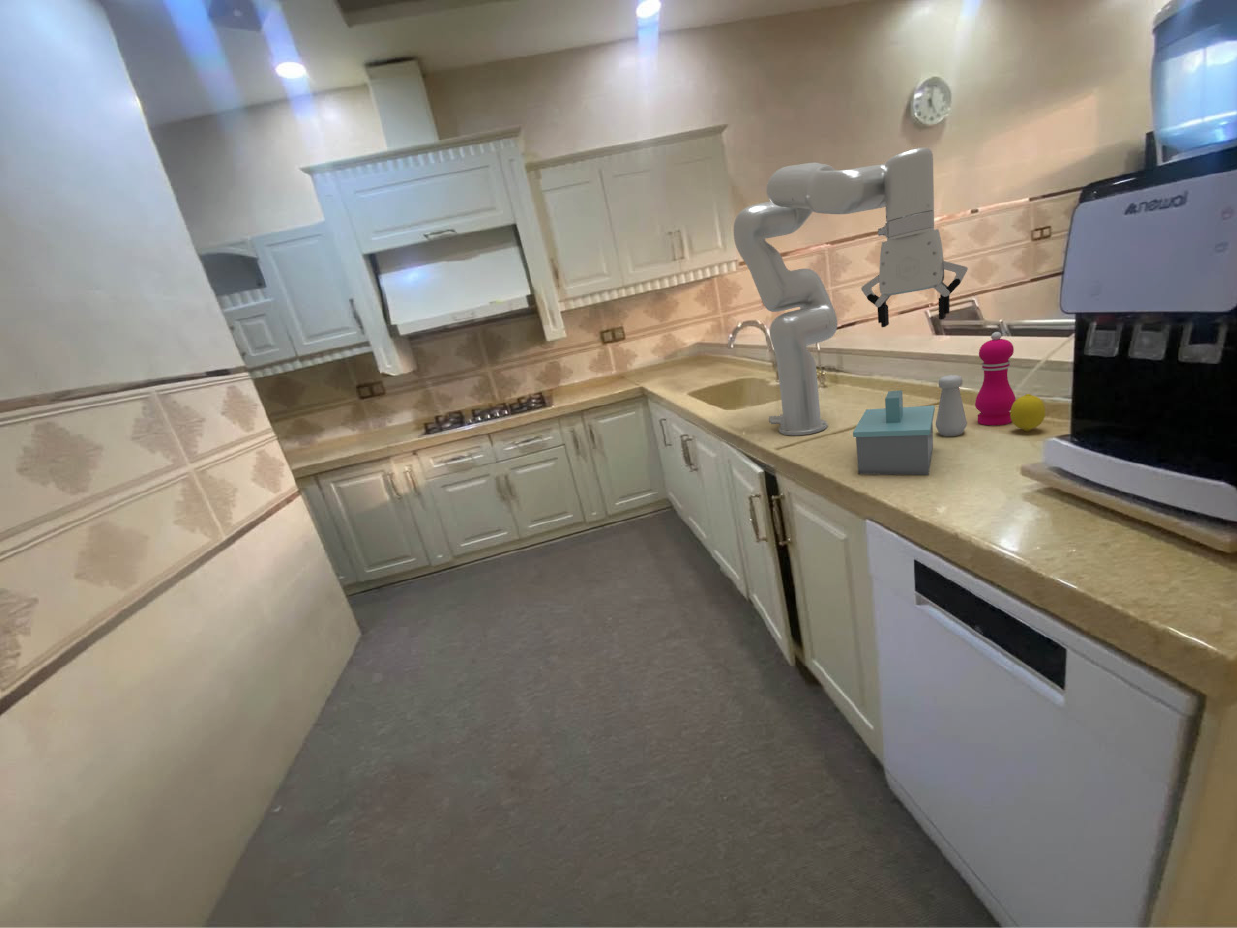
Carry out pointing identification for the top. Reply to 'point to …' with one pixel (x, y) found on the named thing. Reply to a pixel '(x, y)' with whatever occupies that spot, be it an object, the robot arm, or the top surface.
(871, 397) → the top surface
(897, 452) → the tub
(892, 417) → the lid
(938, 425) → the salt shaker
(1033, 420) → the lemon
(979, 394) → the pepper mill
